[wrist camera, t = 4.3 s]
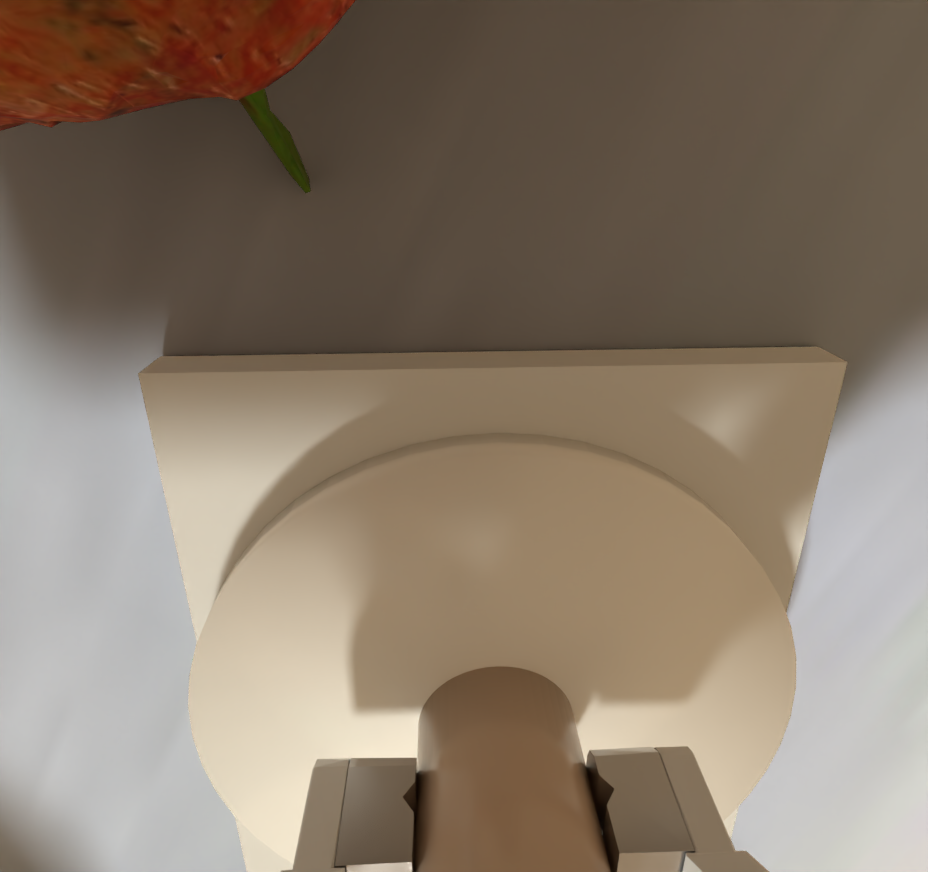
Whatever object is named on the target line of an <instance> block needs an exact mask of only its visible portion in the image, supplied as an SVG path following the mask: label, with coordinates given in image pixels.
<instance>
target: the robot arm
mask: <svg viewBox="0 0 928 872" xmlns="http://www.w3.org/2000/svg"><path fill="white" fill-rule="evenodd" d="M586 768H587V773H588V777H589V781H590V785H591V789H592V793H593V797H594V802H595V806H596V810H597V814H598V818H599V822H600V827H601V831H602V835H603V839H604V843H605V847H606V852H607V856H608V860H609V864H610V868H611V872H769V871H768V870H767V869H766V868H765V867H763V866H762V865H761V864H760V863H759V862H758V861H757V860H756V859H755V858H753V857H752V856H751V855H750V854H749V853H748V852H747V851H735V848H734V846H733V844H732V841H731V839H730V837H729V834H728V832H727V830H726V827H725V825H724V823H723V820H722V818H721V816H720V813H719V811H718V809H717V806H716V804H715V802H714V799H713V797H712V795H711V792H710V790H709V788H708V786H707V783H706V781H705V779H704V776H703V774H702V772H701V769H700V767H699V765H698V762H697V760H696V758H695V755H694V753H693V752H692V750H691V749H690V748H689V747H688V746H679V747H655V748H653V747H637V748H618V749H598V750H589V752H588V755H587V761H586ZM417 779H418V770H417V758H338V759H317V760H316V763H315V765H314V767H313V769H312V774H311V779H310V784H309V789H308V794H307V799H306V804H305V809H304V814H303V819H302V824H301V829H300V834H299V839H298V844H297V849H296V854H295V859H294V864H293V869H291V870H282V871H281V872H415V850H416V839H415V817H416V812H417Z"/></svg>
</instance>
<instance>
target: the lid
mask: <svg viewBox="0 0 928 872" xmlns="http://www.w3.org/2000/svg"><path fill="white" fill-rule="evenodd" d="M795 689H796V653H795V648H794V642H793V636H792V630H791V626H790V623H789V620H788V618H787V615H786V612H785V609H784V607H783V604H782V601H781V598H780V596H779V595H778V593H777V591H776V589H775V588H774V586H773V584H772V583H771V581H770V579H769V577H768V576H767V574H766V572H765V571H764V569H763V568H762V566H761V565H760V564H759V562H758V561H757V560H756V558H755V557H754V556H753V555H752V553H751V552H750V551H749V549H748V548H747V547H746V546H745V544H744V543H743V542H742V540H741V539H740V538H739V537H738V536H737V534H736V533H735V532H734V531H733V530H732V528H731V527H730V526H729V525H728V524H727V522H726V521H725V520H724V519H723V518H722V516H721V515H720V514H719V513H718V512H717V511H716V510H714V509H713V508H712V507H711V506H710V505H709V504H707V503H706V502H705V501H704V500H703V499H702V498H701V497H699V496H698V495H697V494H696V493H695V492H694V491H692V490H691V489H689V488H688V487H686V486H685V485H683V484H681V483H680V482H678V481H677V480H675V479H674V478H672V477H670V476H669V475H667V474H666V473H664V472H663V471H661V470H659V469H657V468H655V467H652V466H650V465H648V464H646V463H644V462H641V461H639V460H637V459H635V458H632V457H630V456H628V455H626V454H623V453H620V452H617V451H613V450H610V449H607V448H603V447H600V446H597V445H593V444H590V443H587V442H583V441H577V440H571V439H565V438H559V437H553V436H547V435H538V434H514V433H488V434H476V435H463V436H452V437H447V438H442V439H437V440H432V441H427V442H422V443H417V444H412V445H408V446H405V447H402V448H399V449H396V450H393V451H390V452H387V453H384V454H381V455H378V456H375V457H372V458H369V459H366V460H364V461H362V462H360V463H358V464H356V465H354V466H352V467H350V468H347V469H345V470H343V471H341V472H339V473H337V474H335V475H333V476H331V477H329V478H327V479H326V480H324V481H323V482H321V483H320V484H318V485H317V486H315V487H313V488H312V489H310V490H309V491H307V492H306V493H304V494H303V495H301V496H300V497H298V498H297V499H295V500H294V501H293V502H292V503H291V504H289V505H288V506H287V507H286V508H285V509H284V510H283V511H281V512H280V513H279V514H278V515H277V516H276V517H274V518H273V519H272V520H271V521H270V522H269V523H267V524H266V526H265V527H264V528H263V529H262V530H261V531H260V533H259V534H258V535H257V536H256V537H255V538H254V540H253V541H252V542H251V543H250V544H249V545H248V546H247V548H246V549H245V550H244V551H243V553H242V554H241V556H240V557H239V559H238V561H237V562H236V564H235V565H234V567H233V569H232V570H231V572H230V573H229V575H228V577H227V578H226V580H225V582H224V584H223V586H222V588H221V590H220V592H219V594H218V596H217V598H216V600H215V602H214V604H213V606H212V608H211V610H210V612H209V615H208V617H207V620H206V622H205V624H204V627H203V629H202V632H201V634H200V637H199V639H198V641H197V644H196V648H195V652H194V657H193V661H192V666H191V671H190V675H189V700H188V709H189V715H190V722H191V729H192V736H193V739H194V742H195V745H196V748H197V751H198V754H199V757H200V760H201V763H202V766H203V768H204V770H205V771H206V773H207V775H208V777H209V779H210V781H211V783H212V785H213V787H214V789H215V790H216V792H217V793H218V795H219V796H220V797H221V799H222V800H223V801H224V803H225V804H226V805H227V807H228V808H229V809H230V811H231V812H232V814H233V815H234V816H235V817H236V818H237V819H238V820H239V821H240V822H241V823H242V824H243V825H244V826H245V827H246V828H247V829H248V830H249V831H250V832H251V833H252V834H253V835H254V836H255V837H256V838H258V839H259V840H260V841H261V842H263V843H264V844H265V845H266V846H268V847H269V848H270V849H271V850H273V851H274V852H275V853H277V854H278V855H279V856H281V857H283V858H284V859H286V860H288V861H289V862H291V863H292V864H294V859H295V854H296V849H297V844H298V839H299V834H300V829H301V824H302V819H303V814H304V809H305V804H306V799H307V794H308V789H309V784H310V779H311V774H312V769H313V767H314V765H315V763H316V760H317V759H338V758H417V770H418V779H417V812H416V817H415V839H416V850H415V872H611V868H610V864H609V860H608V856H607V852H606V847H605V843H604V839H603V835H602V831H601V827H600V822H599V818H598V814H597V810H596V806H595V802H594V797H593V793H592V789H591V785H590V781H589V777H588V773H587V768H586V761H587V755H588V752H589V750H598V749H618V748H637V747H653V748H655V747H679V746H688V747H689V748H690V749H691V750H692V752H693V753H694V755H695V758H696V760H697V762H698V765H699V767H700V769H701V772H702V774H703V776H704V779H705V781H706V783H707V786H708V788H709V790H710V792H711V795H712V797H713V799H714V802H715V804H716V806H717V809H718V811H719V813H720V816H721V818H722V820H723V821H724V820H725V819H727V818H728V817H729V816H730V815H731V813H732V812H733V811H734V810H735V809H736V808H737V807H738V806H739V805H740V804H741V803H742V802H743V801H744V800H745V798H746V797H747V796H748V795H749V794H750V793H751V791H752V790H753V788H754V787H755V786H756V784H757V783H758V782H759V780H760V779H761V777H762V776H763V775H764V773H765V772H766V770H767V769H768V767H769V765H770V763H771V761H772V759H773V757H774V756H775V754H776V752H777V750H778V748H779V746H780V744H781V742H782V739H783V736H784V733H785V730H786V728H787V725H788V722H789V719H790V716H791V711H792V705H793V700H794V695H795Z"/></svg>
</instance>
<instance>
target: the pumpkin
mask: <svg viewBox="0 0 928 872" xmlns="http://www.w3.org/2000/svg"><path fill="white" fill-rule="evenodd" d="M355 1H356V0H0V131H1V130H5V129H8V128H11V127H15V126H18V125H21V124H25V123H28V122H31V123H35V124H39V125H44V126H48V127H53V126H55V125H57V124H58V123H60V122H62V121H64V122H90V121H99V120H104V119H108V118H112V117H115V116H119V115H123V114H127V113H131V112H134V111H138V110H142V109H146V108H150V107H155V106H160V105H164V104H169V103H173V102H178V101H183V100H187V99H194V98H210V97H223V98H227V99H232V100H239V101H240V103H241V104H242V106H243V107H244V108H245V110H246V111H247V113H248V114H249V116H250V117H251V119H252V120H253V121H254V123H255V124H256V126H257V127H258V129H259V130H260V132H261V133H262V134H263V136H264V137H265V139H266V140H267V142H268V143H269V145H270V146H271V147H272V149H273V150H274V152H275V153H276V155H277V156H278V158H279V159H280V161H281V162H282V163H283V165H284V166H285V168H286V169H287V171H288V172H289V174H290V175H291V176H292V177H293V179H294V180H295V181H296V182H297V183H298V185H299V186H300V187H301V188H302V189H303V191H304V192H305V193H308V192H310V184H309V178H308V175H307V172H306V170H305V168H304V165H303V163H302V160H301V158H300V156H299V153H298V151H297V148H296V146H295V144H294V141H293V139H292V137H291V134H290V132H289V131H288V130H287V129H286V127H285V126H284V125H283V124H282V123H281V122H280V121H279V120H278V118H277V117H276V116H275V115H274V114H273V113H272V112H271V111H270V108H269V104H268V100H267V96H266V92H265V88H266V87H268V86H269V85H270V84H272V83H273V82H275V81H276V80H278V79H279V78H280V77H282V76H283V75H285V74H286V73H287V72H289V71H290V70H292V69H293V68H294V67H295V66H296V65H298V64H299V63H300V62H301V61H302V60H303V59H304V58H305V57H306V56H307V55H308V54H309V53H310V52H311V51H312V50H313V49H314V48H315V47H316V46H317V45H318V44H319V43H320V42H321V41H322V40H323V39H324V38H325V37H326V35H327V34H328V33H329V32H330V31H331V30H332V29H333V27H334V26H335V25H336V24H337V23H338V22H339V20H340V19H341V18H342V16H343V15H344V14H345V13H346V11H347V10H348V9H349V8H350V7H351V5H352V4H353V3H354V2H355Z"/></svg>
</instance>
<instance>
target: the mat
mask: <svg viewBox="0 0 928 872" xmlns="http://www.w3.org/2000/svg"><path fill="white" fill-rule="evenodd" d="M847 363H848V362H846V361H845V360H843V359H841V358H839V357H837V356H835V355H833V354H831V353H829V352H827V351H825V350H824V349H822V348H820V347H818V346H816V347H750V348H684V349H618V350H552V351H486V352H420V353H354V354H288V355H222V356H160V357H159V358H158V359H157V360H155V361H154V362H153V363H151V364H150V365H149V366H147V367H146V368H145V369H143V370H142V371H141V372H139V373H138V375H139V380H140V384H141V389H142V393H143V398H144V403H145V407H146V412H147V416H148V421H149V425H150V430H151V435H152V439H153V444H154V448H155V453H156V458H157V462H158V467H159V471H160V476H161V480H162V485H163V490H164V494H165V499H166V503H167V508H168V513H169V517H170V522H171V526H172V531H173V535H174V540H175V545H176V549H177V554H178V558H179V563H180V568H181V572H182V577H183V581H184V586H185V590H186V595H187V600H188V604H189V609H190V613H191V618H192V623H193V627H194V632H195V636H196V641H198V639H199V637H200V634H201V632H202V629H203V627H204V624H205V622H206V620H207V617H208V615H209V612H210V610H211V608H212V606H213V604H214V602H215V600H216V598H217V596H218V594H219V592H220V590H221V588H222V586H223V584H224V582H225V580H226V578H227V577H228V575H229V573H230V572H231V570H232V569H233V567H234V565H235V564H236V562H237V561H238V559H239V557H240V556H241V554H242V553H243V551H244V550H245V549H246V548H247V546H248V545H249V544H250V543H251V542H252V541H253V540H254V538H255V537H256V536H257V535H258V534H259V533H260V531H261V530H262V529H263V528H264V527H265V526H266V524H267V523H269V522H270V521H271V520H272V519H273V518H274V517H276V516H277V515H278V514H279V513H280V512H281V511H283V510H284V509H285V508H286V507H287V506H288V505H289V504H291V503H292V502H293V501H294V500H295V499H297V498H298V497H300V496H301V495H303V494H304V493H306V492H307V491H309V490H310V489H312V488H313V487H315V486H317V485H318V484H320V483H321V482H323V481H324V480H326V479H327V478H329V477H331V476H333V475H335V474H337V473H339V472H341V471H343V470H345V469H347V468H350V467H352V466H354V465H356V464H358V463H360V462H362V461H364V460H366V459H369V458H372V457H375V456H378V455H381V454H384V453H387V452H390V451H393V450H396V449H399V448H402V447H405V446H408V445H412V444H417V443H422V442H427V441H432V440H437V439H442V438H447V437H452V436H463V435H476V434H488V433H514V434H538V435H547V436H553V437H559V438H565V439H571V440H577V441H583V442H587V443H590V444H593V445H597V446H600V447H603V448H607V449H610V450H613V451H617V452H620V453H623V454H626V455H628V456H630V457H632V458H635V459H637V460H639V461H641V462H644V463H646V464H648V465H650V466H652V467H655V468H657V469H659V470H661V471H663V472H664V473H666V474H667V475H669V476H670V477H672V478H674V479H675V480H677V481H678V482H680V483H681V484H683V485H685V486H686V487H688V488H689V489H691V490H692V491H694V492H695V493H696V494H697V495H698V496H699V497H701V498H702V499H703V500H704V501H705V502H706V503H707V504H709V505H710V506H711V507H712V508H713V509H714V510H716V511H717V512H718V513H719V514H720V515H721V516H722V518H723V519H724V520H725V521H726V522H727V524H728V525H729V526H730V527H731V528H732V530H733V531H734V532H735V533H736V534H737V536H738V537H739V538H740V539H741V540H742V542H743V543H744V544H745V546H746V547H747V548H748V549H749V551H750V552H751V553H752V555H753V556H754V557H755V558H756V560H757V561H758V562H759V564H760V565H761V566H762V568H763V569H764V571H765V572H766V574H767V576H768V577H769V579H770V581H771V583H772V584H773V586H774V588H775V589H776V591H777V593H778V595H779V596H780V598H781V601H782V604H783V607H784V609H785V612H787V608H788V603H789V599H790V595H791V591H792V587H793V583H794V579H795V575H796V571H797V567H798V563H799V559H800V554H801V550H802V546H803V542H804V538H805V534H806V530H807V526H808V522H809V518H810V514H811V510H812V506H813V501H814V497H815V493H816V489H817V485H818V481H819V477H820V473H821V469H822V465H823V461H824V457H825V453H826V448H827V444H828V440H829V436H830V432H831V428H832V424H833V420H834V416H835V412H836V408H837V404H838V400H839V395H840V391H841V387H842V383H843V379H844V375H845V371H846V367H847ZM738 807H739V806H738ZM738 807H737V808H736V809H735V810H734V811H733V812H732V813H731V815H730V816H729V817H728V818H727V819H725V820H724V821H723V823H724V825H725V827H726V830H727V832H728V834H729V837H730V839H731V836H732V832H733V828H734V824H735V820H736V815H737V811H738ZM235 820H236V824H237V829H238V833H239V838H240V843H241V847H242V852H243V856H244V861H245V865H246V870H247V872H281V871H282V870H291V869H293V864H292V863H291V862H289V861H288V860H286V859H284V858H283V857H281V856H279V855H278V854H277V853H275V852H274V851H273V850H271V849H270V848H269V847H268V846H266V845H265V844H264V843H263V842H261V841H260V840H259V839H258V838H256V837H255V836H254V835H253V834H252V833H251V832H250V831H249V830H248V829H247V828H246V827H245V826H244V825H243V824H242V823H241V822H240V821H239V820H238V819H237V818H236V817H235Z"/></svg>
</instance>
